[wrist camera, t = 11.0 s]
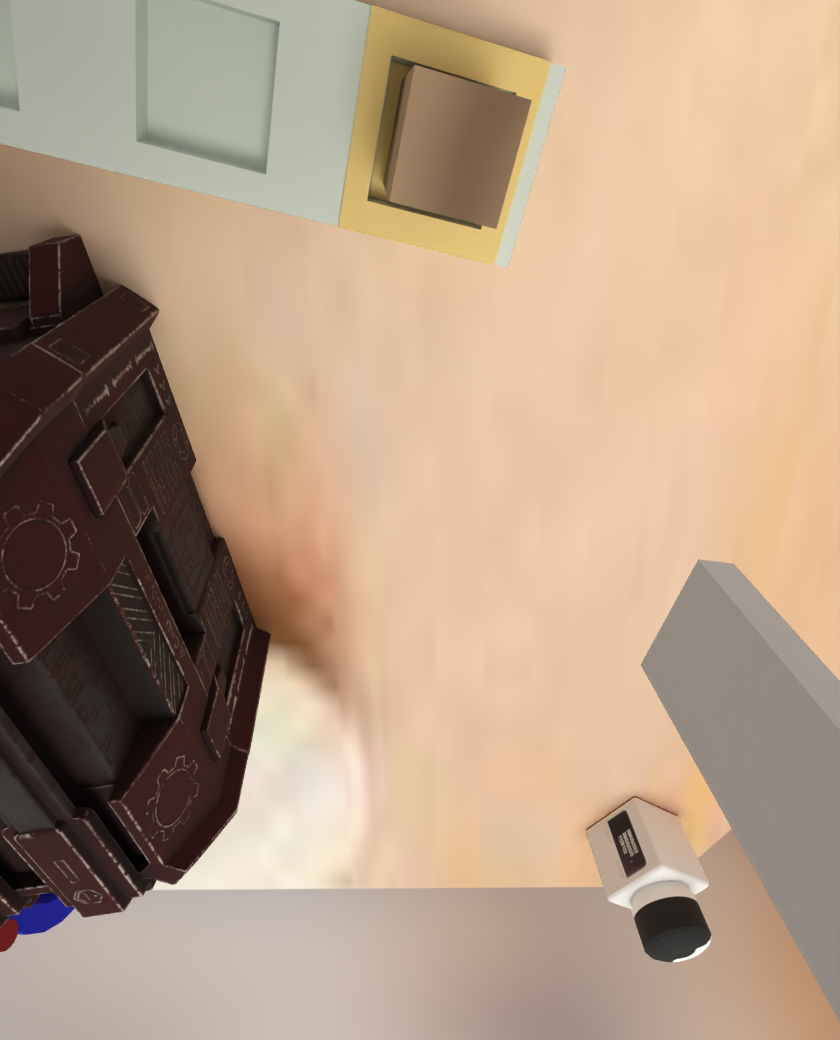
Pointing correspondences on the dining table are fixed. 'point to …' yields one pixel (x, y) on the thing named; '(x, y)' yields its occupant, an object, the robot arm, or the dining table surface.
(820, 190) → the dining table surface
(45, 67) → the sorting tray
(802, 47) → the dining table surface
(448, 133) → the walnut block
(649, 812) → the container
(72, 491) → the crate
